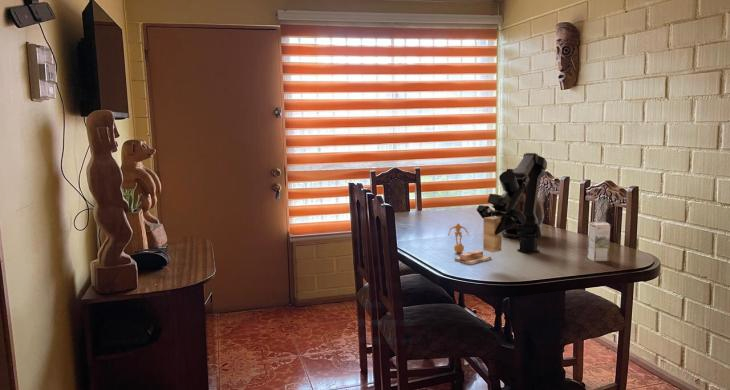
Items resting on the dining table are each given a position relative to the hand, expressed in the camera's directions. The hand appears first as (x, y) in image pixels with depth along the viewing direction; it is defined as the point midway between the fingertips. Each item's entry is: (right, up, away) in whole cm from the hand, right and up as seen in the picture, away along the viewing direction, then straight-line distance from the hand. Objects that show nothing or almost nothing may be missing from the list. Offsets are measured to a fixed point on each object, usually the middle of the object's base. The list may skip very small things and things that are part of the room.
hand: (490, 233), depth 194 cm
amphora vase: (+27, -6, +59) cm, 65 cm away
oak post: (+1, -6, +2) cm, 7 cm away
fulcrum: (-3, -12, +16) cm, 20 cm away
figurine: (-6, -10, +29) cm, 31 cm away
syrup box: (+44, -11, +12) cm, 47 cm away
